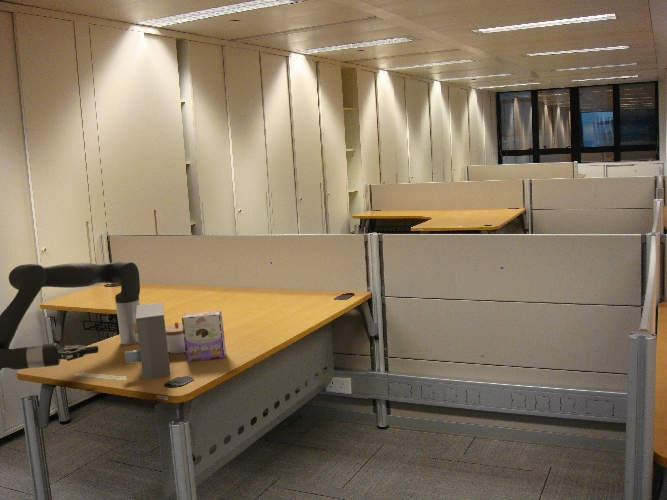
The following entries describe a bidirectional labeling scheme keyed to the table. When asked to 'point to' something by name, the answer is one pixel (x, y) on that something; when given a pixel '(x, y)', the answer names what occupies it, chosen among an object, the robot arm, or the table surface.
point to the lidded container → (175, 338)
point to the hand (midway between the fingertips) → (98, 349)
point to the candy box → (204, 336)
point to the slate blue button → (132, 356)
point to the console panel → (152, 340)
